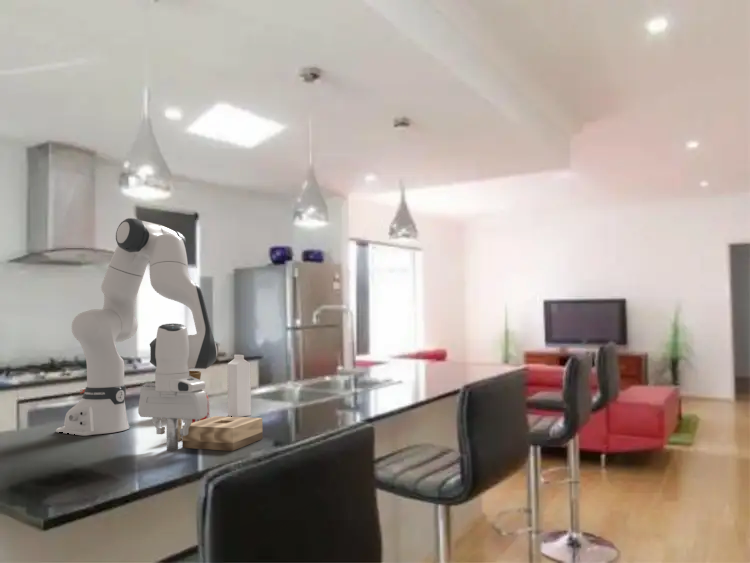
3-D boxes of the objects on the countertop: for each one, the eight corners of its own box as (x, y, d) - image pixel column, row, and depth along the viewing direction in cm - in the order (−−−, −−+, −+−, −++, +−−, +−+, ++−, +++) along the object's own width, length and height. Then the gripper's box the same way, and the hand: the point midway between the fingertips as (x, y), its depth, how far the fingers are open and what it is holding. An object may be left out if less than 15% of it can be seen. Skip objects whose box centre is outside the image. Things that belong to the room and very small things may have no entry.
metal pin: (164, 450, 162) (164, 413, 163) (171, 448, 165) (171, 411, 166) (173, 451, 161) (173, 413, 162) (180, 449, 164) (180, 412, 165)
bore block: (182, 447, 166) (182, 425, 166) (215, 436, 181) (215, 416, 181) (233, 450, 161) (232, 428, 161) (262, 438, 176) (262, 418, 176)
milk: (237, 417, 214) (236, 355, 215) (227, 416, 218) (226, 355, 219) (251, 415, 219) (250, 354, 220) (241, 413, 223) (240, 353, 224)
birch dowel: (168, 441, 175) (168, 410, 175) (175, 439, 178) (175, 408, 178) (177, 441, 174) (177, 410, 175) (183, 439, 177) (183, 408, 177)
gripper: (133, 383, 165) (132, 435, 164) (196, 385, 158) (197, 438, 157) (148, 381, 171) (148, 430, 170) (210, 382, 164) (210, 434, 163)
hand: (172, 434), depth 164 cm, fingers open, 6 cm apart
